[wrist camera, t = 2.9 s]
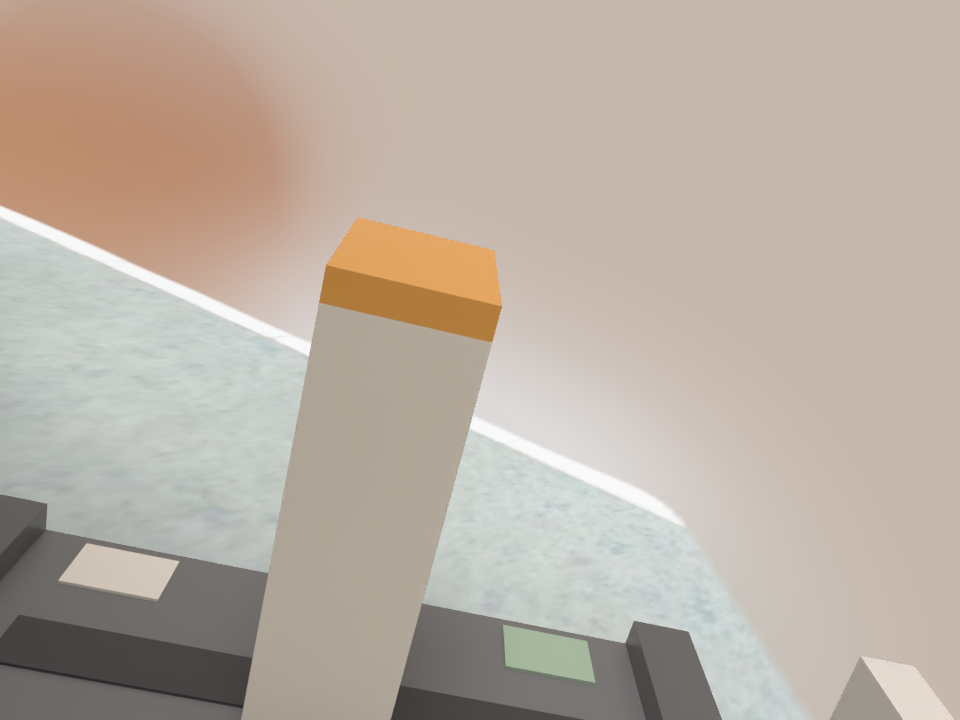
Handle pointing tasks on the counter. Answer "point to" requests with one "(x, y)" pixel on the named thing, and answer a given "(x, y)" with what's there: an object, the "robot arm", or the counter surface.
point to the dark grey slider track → (232, 635)
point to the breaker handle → (371, 470)
